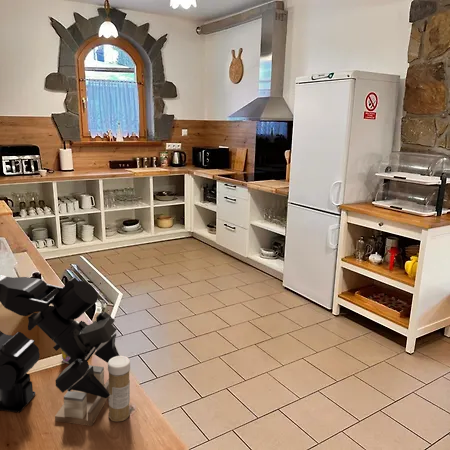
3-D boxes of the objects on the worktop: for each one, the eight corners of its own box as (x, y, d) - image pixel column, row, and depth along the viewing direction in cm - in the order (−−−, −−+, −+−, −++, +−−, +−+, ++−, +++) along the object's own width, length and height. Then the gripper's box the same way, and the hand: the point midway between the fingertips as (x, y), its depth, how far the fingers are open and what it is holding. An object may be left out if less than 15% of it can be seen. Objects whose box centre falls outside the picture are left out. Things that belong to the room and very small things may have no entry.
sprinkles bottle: (110, 408, 94) (109, 354, 90) (131, 408, 94) (131, 354, 91) (106, 423, 89) (105, 367, 86) (128, 422, 90) (128, 367, 86)
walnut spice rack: (55, 420, 89) (53, 396, 87) (80, 385, 100) (79, 363, 99) (91, 425, 88) (91, 401, 87) (112, 389, 100) (112, 367, 98)
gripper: (68, 330, 77) (127, 390, 79) (107, 289, 95) (154, 338, 97) (29, 364, 80) (88, 420, 81) (74, 317, 97) (121, 365, 99)
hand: (116, 382), depth 90 cm, fingers open, 9 cm apart
